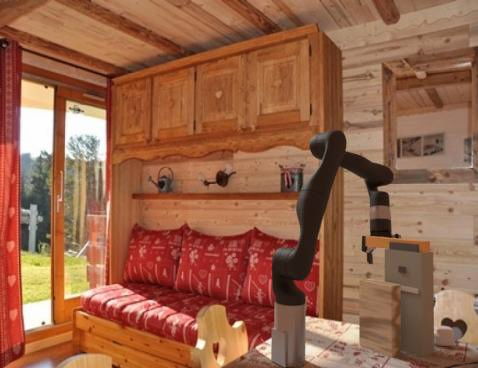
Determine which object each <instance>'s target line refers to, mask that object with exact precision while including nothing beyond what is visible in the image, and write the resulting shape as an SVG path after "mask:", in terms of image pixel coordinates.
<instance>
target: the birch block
mask: <svg viewBox="0 0 478 368" xmlns="http://www.w3.org/2000/svg"><path fill="white" fill-rule="evenodd" d="M358 283H359V284H358V285H359V286H358V287H359V300H358V303H359V304H358V305H359V313H358V314H359V316H358V317H359V320H358V321H359V325H358V326H359V332H358V333H359V335H358V337H359V338H358V339H359V340H358V341H359V344H358V345H359V346H360V347H362V348H365V349H369V350H371V351H374V352H376V353H379V354H381V355H385V356H387V357H390V358H393V357H396V356H400V355H402V351H401V285H398V284H393V283H388V282H385V281H382V280H378V279H372V278H365V279H359V282H358Z"/></svg>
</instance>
